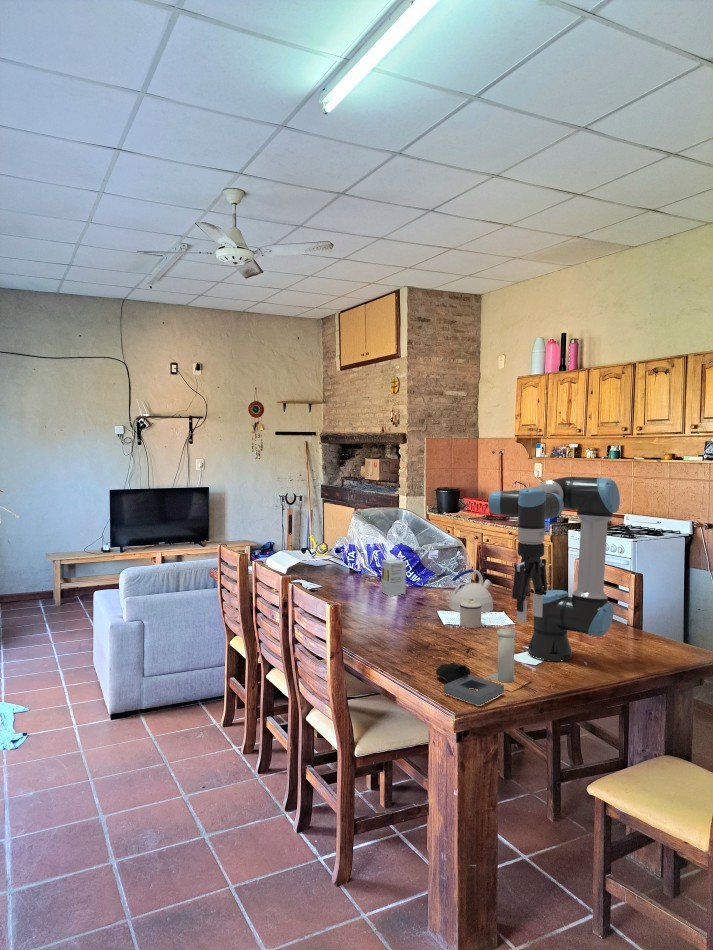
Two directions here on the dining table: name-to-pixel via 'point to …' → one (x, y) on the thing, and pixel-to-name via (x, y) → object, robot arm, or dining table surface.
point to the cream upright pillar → (506, 655)
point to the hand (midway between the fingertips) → (529, 619)
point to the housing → (462, 691)
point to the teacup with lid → (470, 613)
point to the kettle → (472, 593)
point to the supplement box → (393, 577)
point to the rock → (452, 671)
